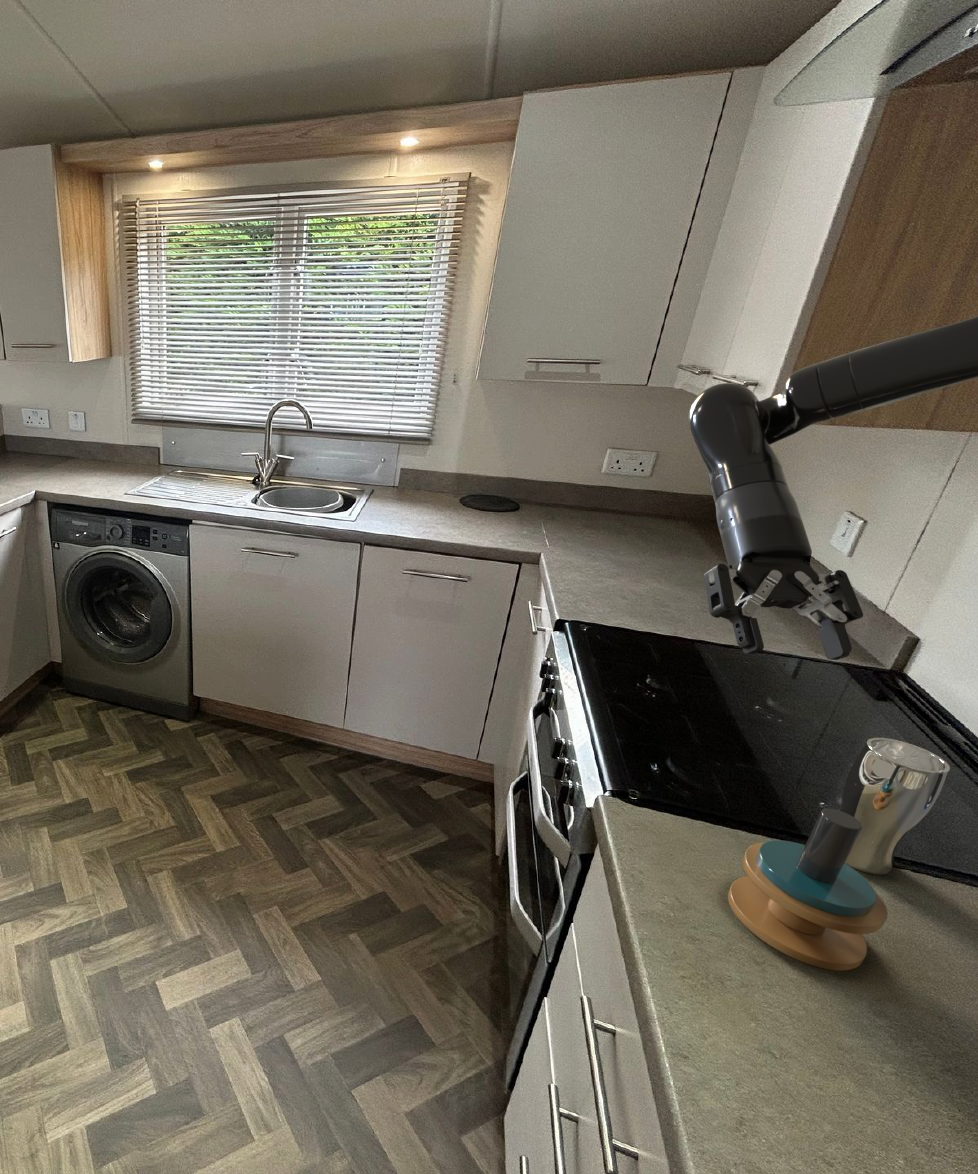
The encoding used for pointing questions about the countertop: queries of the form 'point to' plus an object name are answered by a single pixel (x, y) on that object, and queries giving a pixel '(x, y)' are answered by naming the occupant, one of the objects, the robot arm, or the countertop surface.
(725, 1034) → the countertop surface
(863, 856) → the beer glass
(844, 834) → the disc
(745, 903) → the stand
